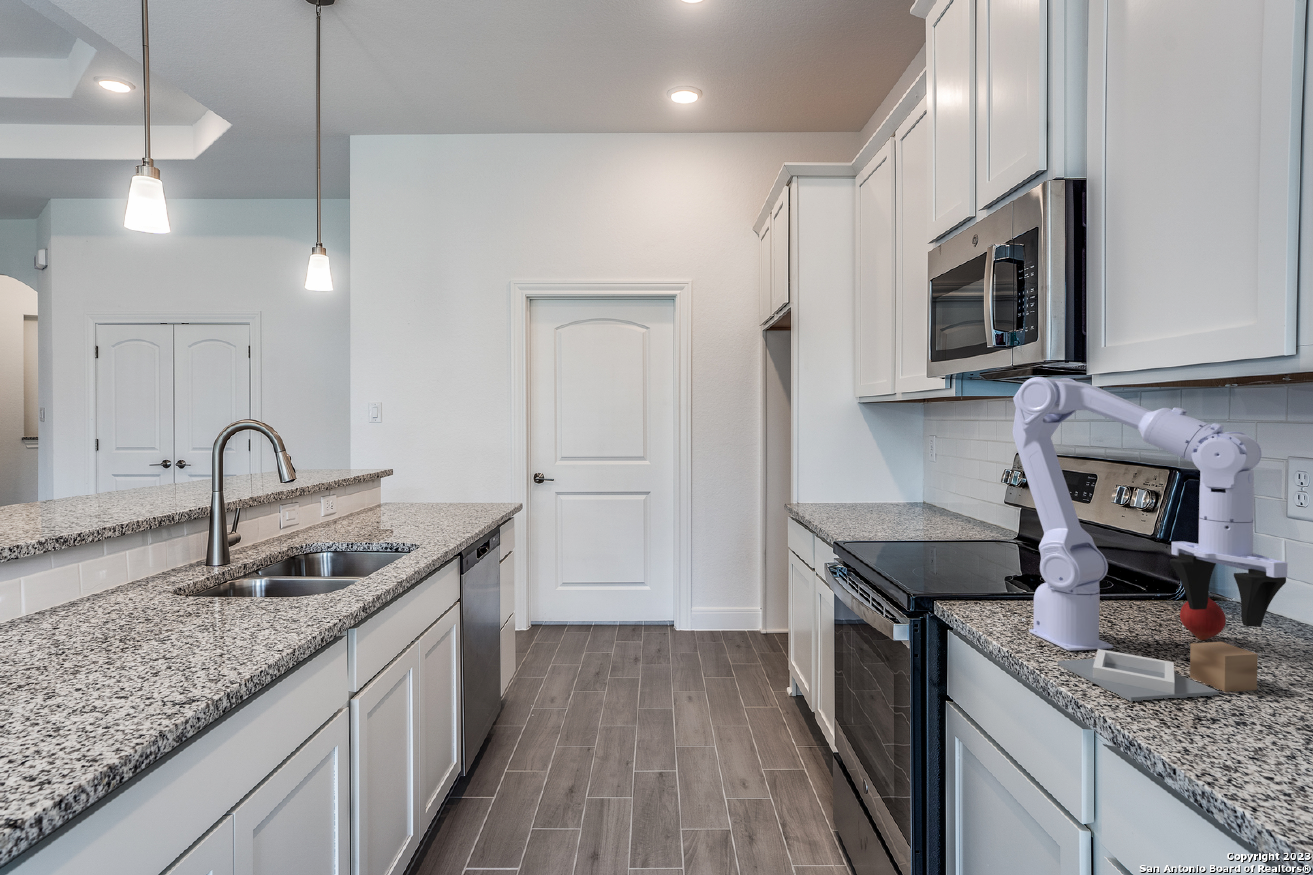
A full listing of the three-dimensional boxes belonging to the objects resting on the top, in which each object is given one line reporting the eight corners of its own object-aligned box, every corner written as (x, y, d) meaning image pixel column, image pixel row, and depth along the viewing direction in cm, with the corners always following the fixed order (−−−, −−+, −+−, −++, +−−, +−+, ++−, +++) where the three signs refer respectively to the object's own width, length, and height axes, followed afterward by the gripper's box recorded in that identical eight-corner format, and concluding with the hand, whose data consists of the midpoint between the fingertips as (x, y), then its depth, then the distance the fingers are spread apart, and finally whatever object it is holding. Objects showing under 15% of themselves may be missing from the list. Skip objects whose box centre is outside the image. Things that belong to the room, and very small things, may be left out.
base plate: (1057, 664, 98) (1058, 650, 98) (1135, 659, 100) (1135, 646, 100) (1130, 701, 86) (1131, 685, 86) (1218, 695, 87) (1218, 680, 87)
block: (1189, 677, 93) (1190, 643, 93) (1220, 676, 94) (1221, 641, 94) (1224, 692, 88) (1225, 656, 88) (1256, 690, 89) (1257, 654, 89)
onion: (1204, 633, 112) (1204, 587, 112) (1235, 645, 106) (1235, 596, 106) (1171, 634, 112) (1171, 587, 111) (1200, 645, 106) (1201, 597, 106)
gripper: (1153, 512, 97) (1152, 603, 98) (1254, 529, 83) (1252, 635, 83) (1195, 511, 98) (1194, 601, 99) (1302, 527, 84) (1300, 632, 84)
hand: (1223, 616), depth 91 cm, fingers open, 7 cm apart
